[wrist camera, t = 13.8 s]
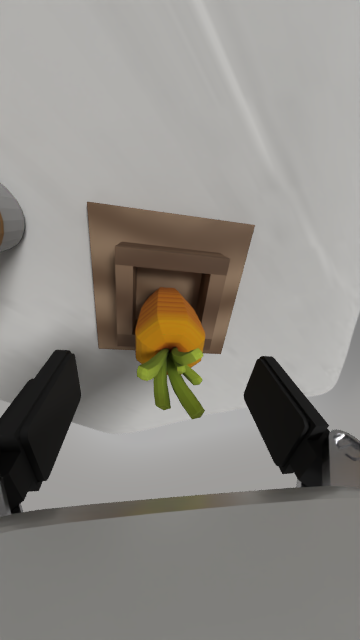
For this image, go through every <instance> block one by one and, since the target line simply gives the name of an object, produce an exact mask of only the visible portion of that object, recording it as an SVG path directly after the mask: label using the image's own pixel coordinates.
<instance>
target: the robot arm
mask: <svg viewBox="0 0 360 640" xmlns="http://www.w3.org/2000/svg"><path fill="white" fill-rule="evenodd" d="M80 398H81V391H80V385H79V378H78V372H77V366H76V360H75V355H74V354H71V352H70V351H69V350H55V351H54V352H53V354H52V355H51V356H50V358H49V359H48V361H47V362H46V363H45V365H44V366H43V367H42V369H41V370H40V371H39V373H38V374H37V376H36V377H35V378H34V379H31V380H29V381H28V382H27V384H26V385H25V386H24V387H23V389H22V390H21V391H20V393H19V394H18V395H17V397H16V398H15V399H14V401H13V402H12V403H11V405H10V406H9V407H8V409H7V410H6V411H5V413H4V414H3V415H2V417H1V418H0V640H360V441H359V440H358V439H357V438H355V437H354V436H352V435H350V434H349V433H346V432H344V431H341V430H332V431H331V432H330V431H329V430H328V429H327V427H328V426H329V425H328V424H327V422H326V421H325V420H324V419H323V417H322V416H321V415H320V414H319V413H318V412H317V410H316V409H315V408H314V406H313V405H312V404H311V403H310V402H309V400H308V399H307V398H306V397H305V395H304V394H303V393H302V392H301V390H300V389H299V388H298V387H297V386H296V384H295V383H294V382H293V381H292V379H291V378H290V377H289V376H288V375H287V373H286V372H285V371H284V370H283V368H282V367H281V366H280V365H279V363H278V362H277V361H276V360H275V359H274V358H273V357H269V356H261V357H260V358H259V359H257V361H256V364H255V366H254V369H253V371H252V374H251V376H250V379H249V382H248V384H247V387H246V389H245V392H244V400H245V402H246V404H247V406H248V408H249V410H250V412H251V414H252V416H253V419H254V421H255V423H256V425H257V427H258V429H259V431H260V433H261V436H262V438H263V440H264V442H265V444H266V446H267V448H268V450H269V452H270V455H271V457H272V459H273V461H274V463H275V464H276V465H277V466H279V468H280V470H281V472H282V474H287V473H295V475H296V476H297V486H296V488H284V489H272V490H259V491H245V492H232V493H219V494H207V495H195V496H183V497H170V498H158V499H147V500H135V501H124V502H113V503H101V504H90V505H81V506H71V507H62V508H52V509H43V510H35V511H29V512H23V510H22V506H21V502H22V501H24V499H25V497H26V494H27V492H29V491H39V489H40V486H41V484H42V481H46V480H47V479H48V477H49V475H50V473H51V471H52V468H53V466H54V463H55V461H56V458H57V456H58V453H59V451H60V448H61V446H62V443H63V441H64V439H65V436H66V434H67V431H68V429H69V426H70V424H71V421H72V419H73V416H74V414H75V411H76V409H77V406H78V404H79V402H80Z"/></svg>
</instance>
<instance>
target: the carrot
mask: <svg viewBox="0 0 360 640" xmlns="http://www.w3.org/2000/svg"><path fill="white" fill-rule="evenodd" d="M135 340H136V359H137V361H139V362H140V363H141V365H140V366H138V369H137V377H139V378H140V379H142V380H146V381H148V380H151V379H153V378H154V397H155V404H156V406H157V407H159V408H161V409H163V410H166V409H170V408H171V406H170V399H169V392H168V386H167V375H168V376H169V379H170V382H171V385H172V387H173V390H174V392H175V394H176V395H177V397H178V399H179V401H180V403H181V404H182V406H183V407H184V409H185V410H186V411H187V413H188V414H189V416H190V417H191V418H192V419H195V418H200V417H201V416H202V414H203V413H204V411H205V410H204V409H203V407H202V406H201V404H200V403H199V401H198V400H197V398H196V397H195V395H194V394H193V393H192V391H191V390H190V389H189V388H188V386H187V385H186V383H185V382H184V380H183V378H182V376H181V374H183V375H184V376H185V377H186V378H187V379H188V380H189V381H190V382H191V383H192V384H193V385H199V384H200V383H201V382H202V378H201V377H200V376H199V375H198V374H197V373H196V372H195V371H193V370H192V369H191V367H193V366H194V365H195V364H197V363H198V362H200V361H201V358H202V357H203V353H202V352H203V347H204V341H205V331H204V329H203V327H202V325H201V322H200V320H199V318H198V316H197V314H196V312H195V311H194V309H193V308H192V306H191V305H190V304H189V303H188V302H187V301H186V300H185V299H184V297H183V296H182V295H181V294H180V293H179V292H178V291H177V290H176V289H175V288H165V287H160V288H159V289H157V290H156V291H155V292H154V293H153V294H152V295H150V296H149V298H148V299H147V300H146V301H145V303H144V304H143V306H142V308H141V311H140V314H139V317H138V321H137V325H136V329H135Z"/></svg>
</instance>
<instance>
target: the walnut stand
mask: <svg viewBox="0 0 360 640" xmlns="http://www.w3.org/2000/svg"><path fill="white" fill-rule="evenodd" d="M87 209H88V221H89V234H90V246H91V259H92V271H93V283H94V296H95V308H96V321H97V333H98V346H99V349H119V350H136V340H135V329H136V325H137V321H138V317H139V314H140V311H141V308H142V306H143V304H144V303H145V301H146V300H147V299H148V298H149V296H150V295H152V294H153V293H154V292H155V291H156V290H157V289H159V288H160V287H165V288H175V289H176V290H177V291H178V292H179V293H180V294H181V295H182V296H183V297H184V299H185V300H186V301H187V302H188V303H189V304H190V305H191V306H192V308H193V309H194V311H195V312H196V314H197V316H198V318H199V320H200V322H201V325H202V327H203V329H204V331H205V341H204V347H203V352H202V353H210V354H221V351H222V348H223V344H224V340H225V336H226V333H227V329H228V325H229V321H230V317H231V314H232V310H233V306H234V302H235V299H236V295H237V291H238V287H239V283H240V280H241V276H242V272H243V268H244V265H245V261H246V257H247V253H248V249H249V246H250V242H251V238H252V234H253V231H254V227H255V225H250V224H243V223H236V222H229V221H222V220H215V219H207V218H200V217H193V216H186V215H179V214H172V213H164V212H157V211H150V210H143V209H136V208H129V207H121V206H114V205H107V204H100V203H93V202H87Z"/></svg>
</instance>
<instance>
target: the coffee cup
mask: <svg viewBox="0 0 360 640" xmlns="http://www.w3.org/2000/svg"><path fill="white" fill-rule="evenodd" d="M24 229H25V219H24V216H23V212H22V209H21V207H20V205H19V204H18V202H17V200H16V199H15V198H14V196H13V195H12V194H11V193H10V192H9V190H8V189H7V188H6V187H5V186H3V185H2V184H1V183H0V252H1V251H4V250H7V249H10V248H12V247H14V246H15V245H17V244H18V243H19V241H20V240H21V238H22V236H23V232H24Z"/></svg>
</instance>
